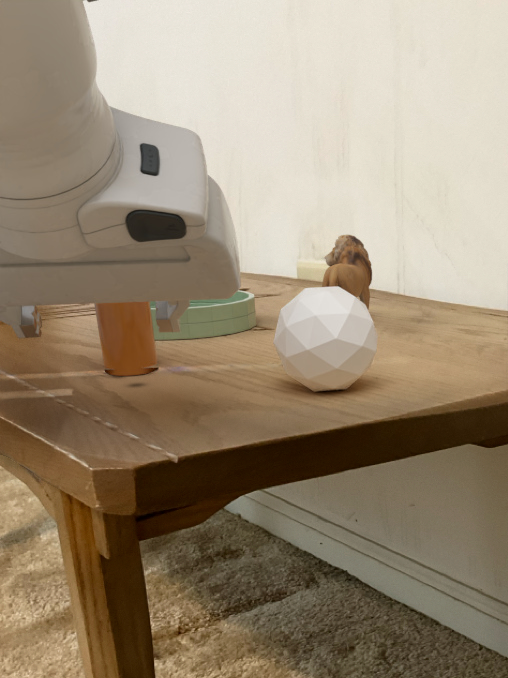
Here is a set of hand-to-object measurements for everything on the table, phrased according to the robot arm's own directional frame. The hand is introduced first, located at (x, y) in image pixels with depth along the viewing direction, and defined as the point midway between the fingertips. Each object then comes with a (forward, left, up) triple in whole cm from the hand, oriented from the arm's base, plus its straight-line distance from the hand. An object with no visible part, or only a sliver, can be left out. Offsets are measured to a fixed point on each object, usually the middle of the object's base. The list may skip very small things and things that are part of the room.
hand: (101, 327), depth 60 cm
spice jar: (0, +11, -5) cm, 13 cm away
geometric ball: (+16, +1, -6) cm, 17 cm away
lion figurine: (+20, +29, -6) cm, 36 cm away
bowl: (+3, +29, -5) cm, 30 cm away
